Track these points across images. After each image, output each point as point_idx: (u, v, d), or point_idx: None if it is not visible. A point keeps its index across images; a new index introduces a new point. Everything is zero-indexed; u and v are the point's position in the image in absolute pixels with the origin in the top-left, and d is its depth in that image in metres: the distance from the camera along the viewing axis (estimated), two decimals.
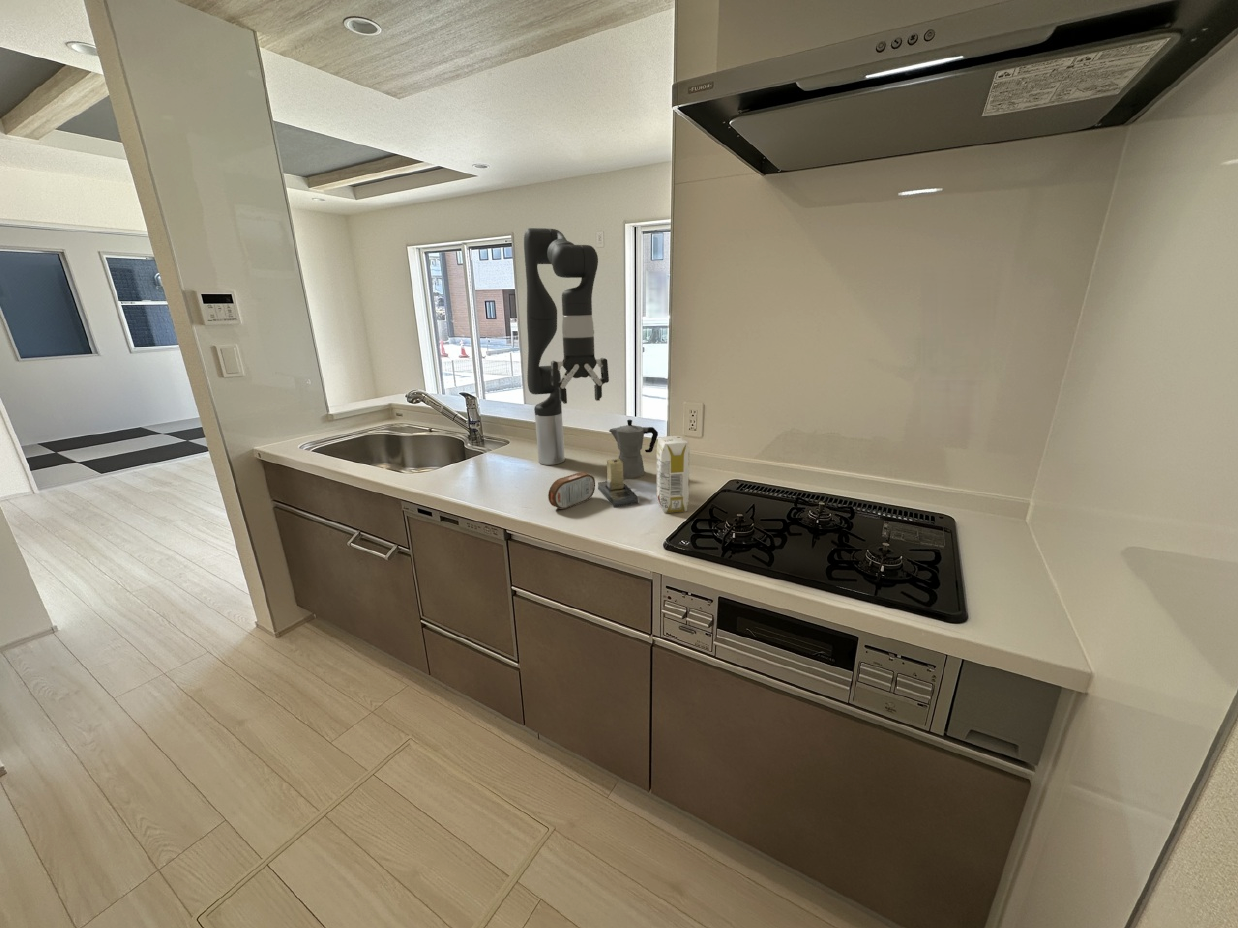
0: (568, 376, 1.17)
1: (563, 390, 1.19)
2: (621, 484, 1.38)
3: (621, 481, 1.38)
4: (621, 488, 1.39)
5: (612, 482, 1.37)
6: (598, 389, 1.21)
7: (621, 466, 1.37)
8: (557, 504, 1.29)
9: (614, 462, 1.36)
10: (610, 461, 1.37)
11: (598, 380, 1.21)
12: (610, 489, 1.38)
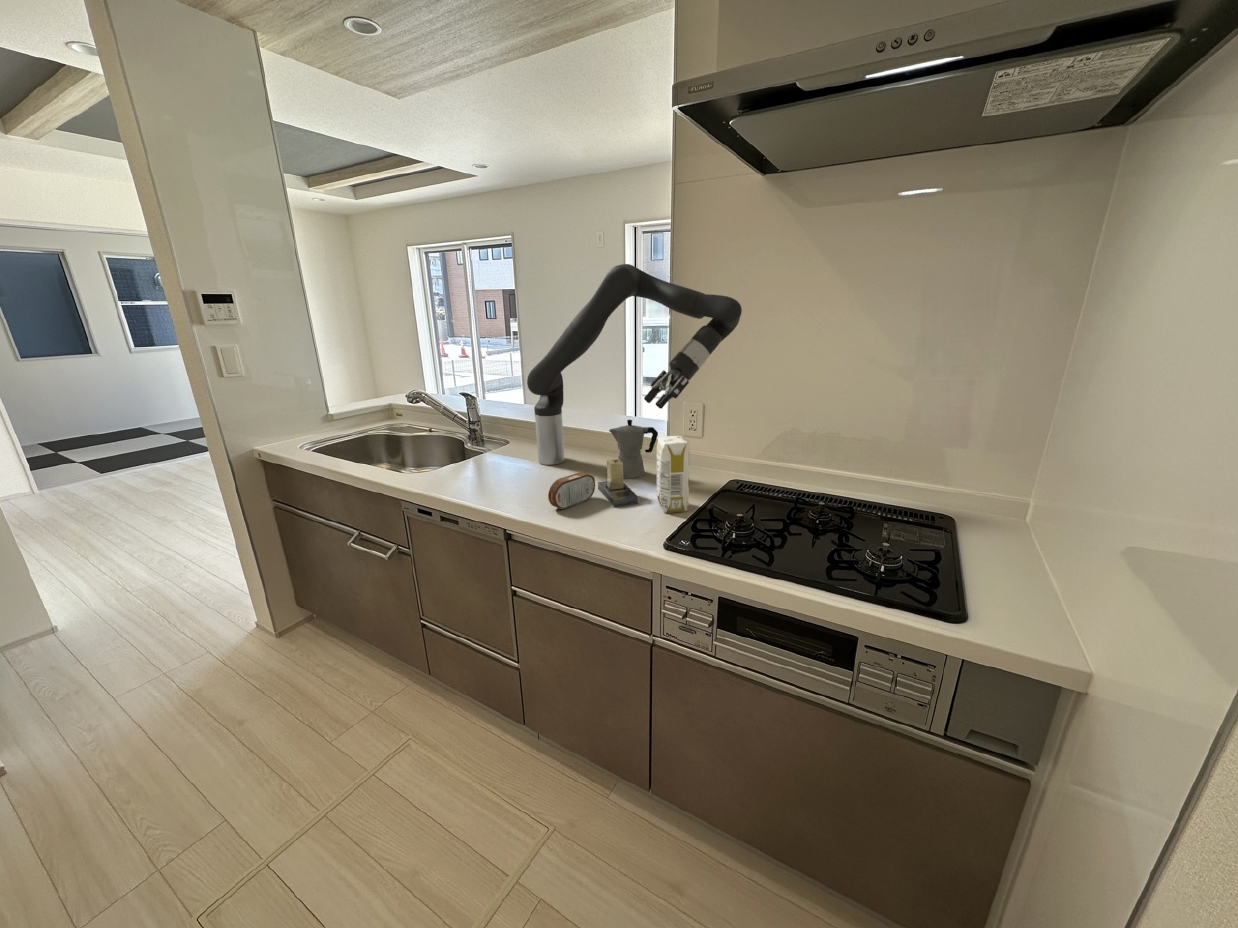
0: None
1: (668, 399, 1.32)
2: (621, 484, 1.38)
3: (621, 481, 1.38)
4: (621, 488, 1.39)
5: (612, 482, 1.37)
6: None
7: (621, 466, 1.37)
8: (557, 504, 1.29)
9: (614, 462, 1.36)
10: (610, 461, 1.37)
11: None
12: (610, 489, 1.38)
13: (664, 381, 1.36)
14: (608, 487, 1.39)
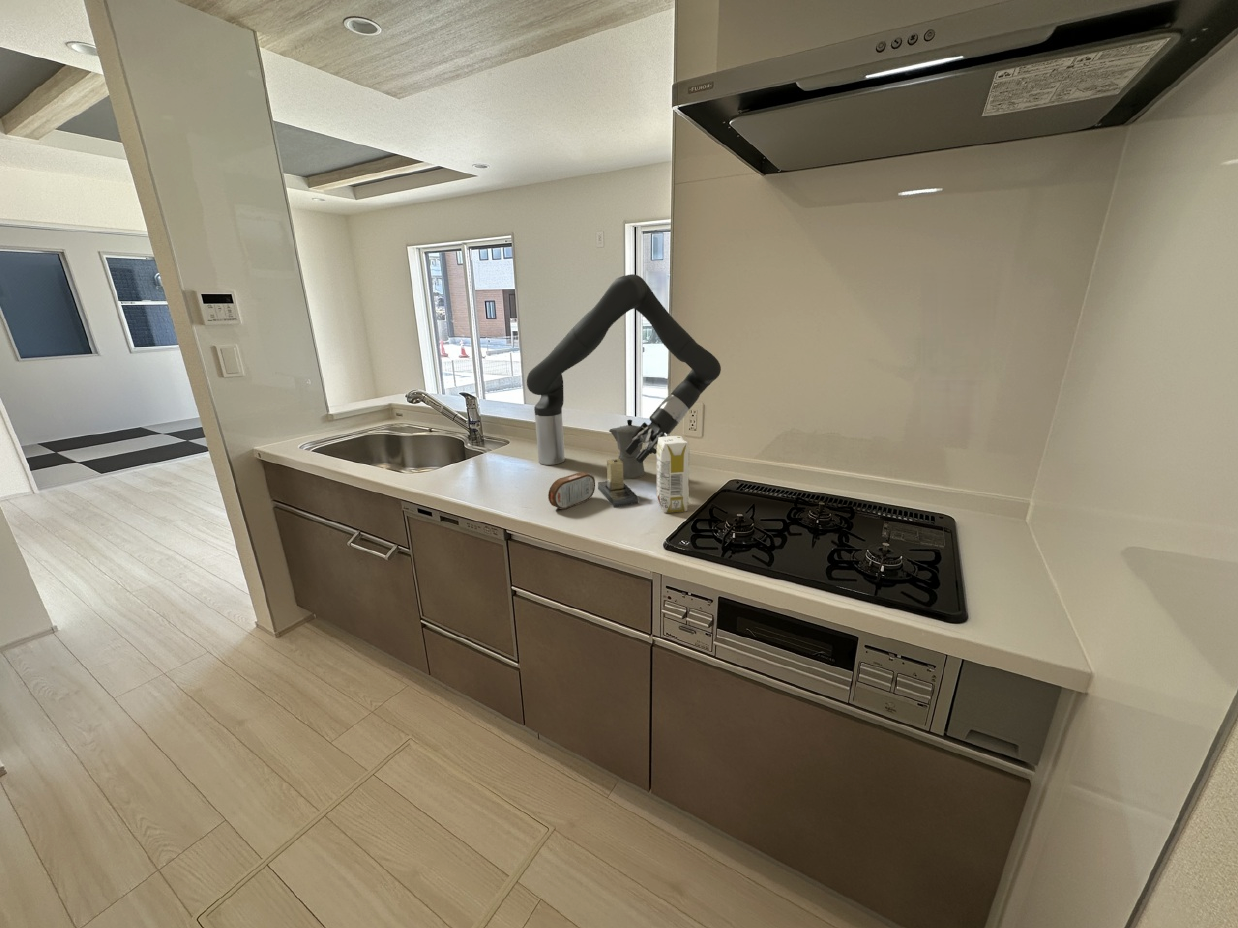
0: None
1: (648, 454, 1.35)
2: (621, 484, 1.38)
3: (621, 481, 1.38)
4: (621, 488, 1.39)
5: (612, 482, 1.37)
6: None
7: (621, 466, 1.37)
8: (557, 504, 1.29)
9: (614, 462, 1.36)
10: (610, 461, 1.37)
11: None
12: (610, 489, 1.38)
13: (644, 435, 1.39)
14: (608, 487, 1.39)
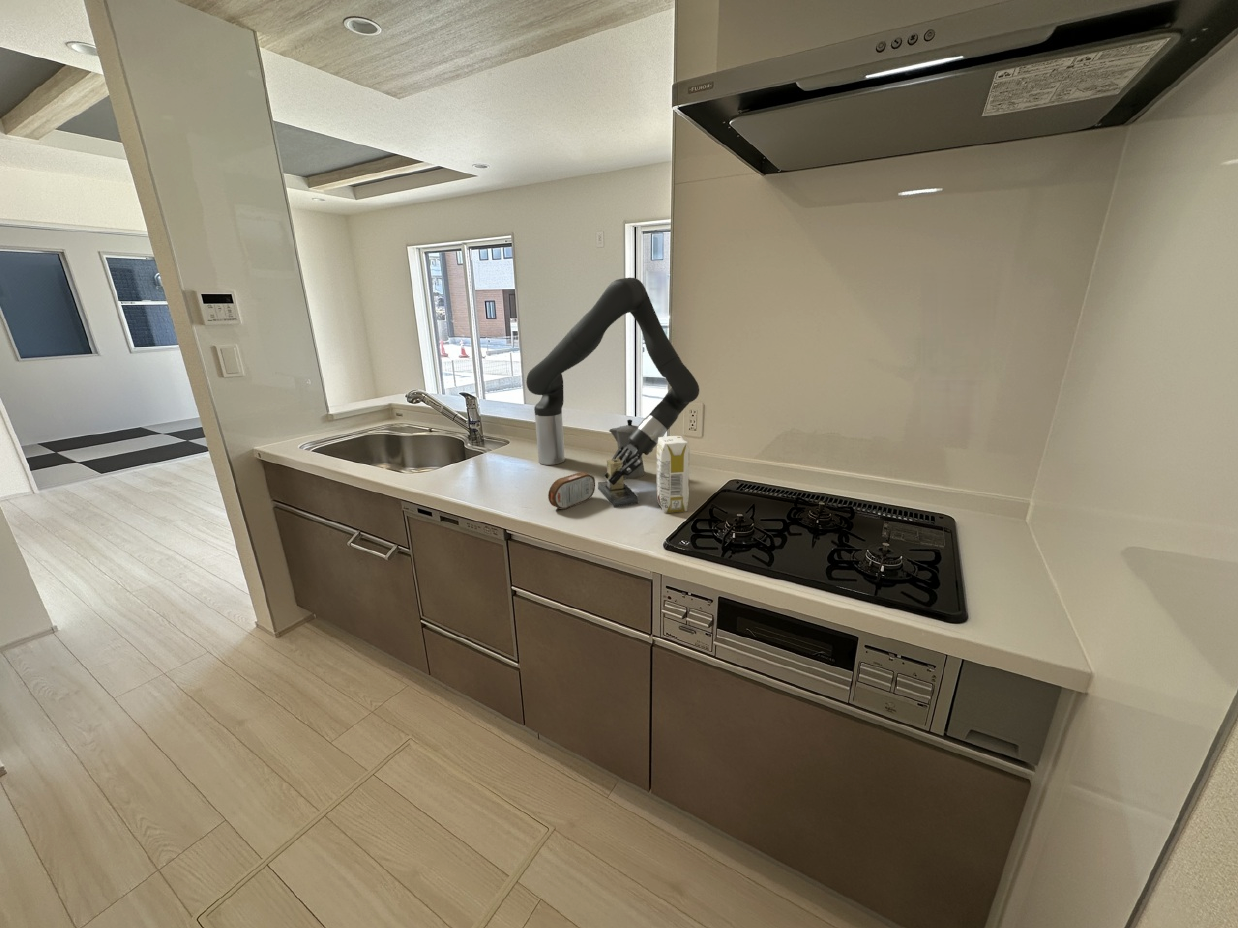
0: None
1: (621, 476, 1.37)
2: (621, 484, 1.38)
3: (621, 481, 1.38)
4: (621, 488, 1.39)
5: None
6: None
7: None
8: (557, 504, 1.29)
9: (614, 462, 1.36)
10: (610, 461, 1.37)
11: None
12: (610, 489, 1.38)
13: (624, 455, 1.38)
14: (608, 487, 1.39)
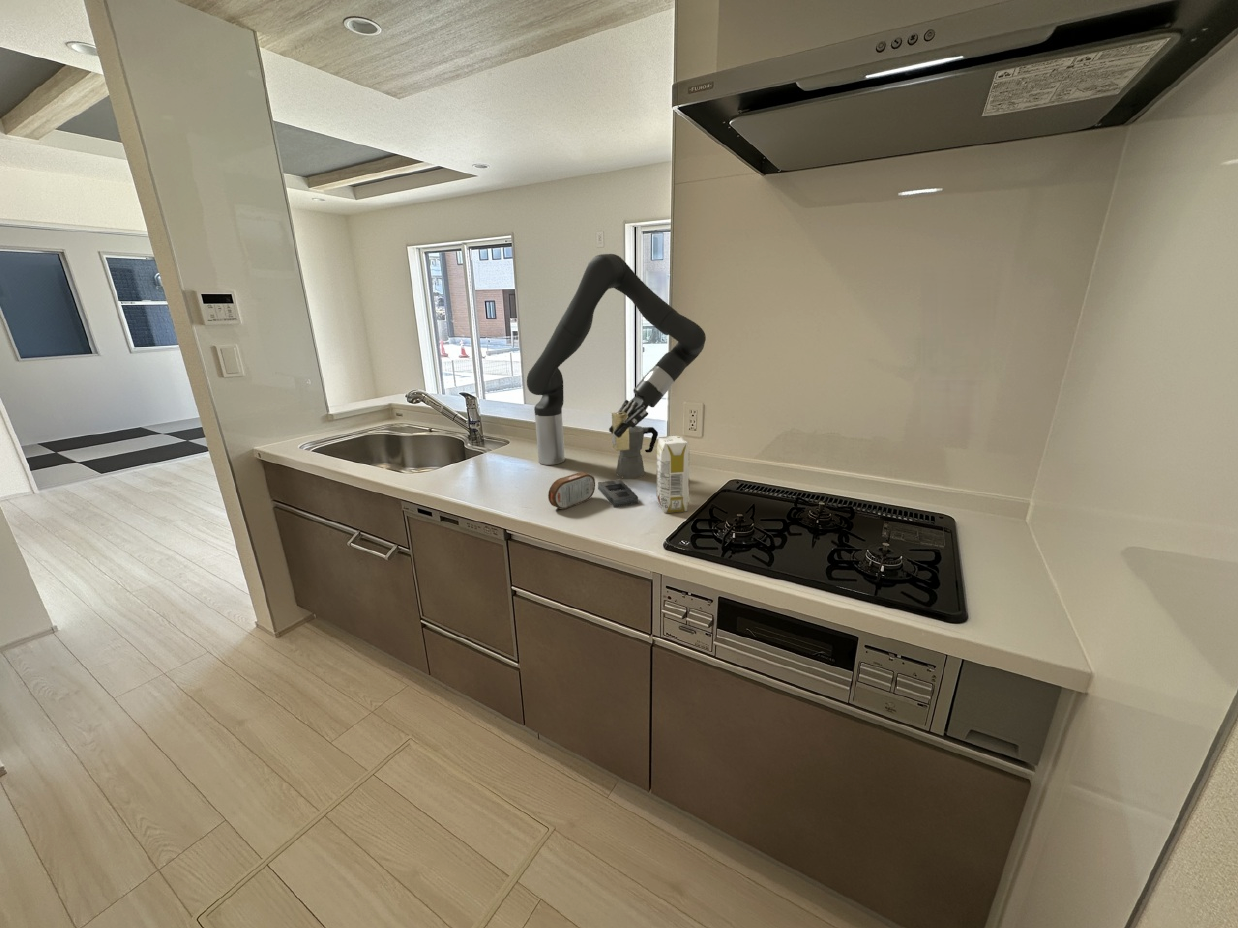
0: None
1: (626, 428, 1.33)
2: (627, 437, 1.34)
3: (626, 434, 1.34)
4: (627, 442, 1.35)
5: None
6: None
7: None
8: (557, 504, 1.29)
9: (619, 414, 1.33)
10: (615, 413, 1.34)
11: None
12: (615, 442, 1.34)
13: (630, 408, 1.34)
14: (613, 441, 1.35)
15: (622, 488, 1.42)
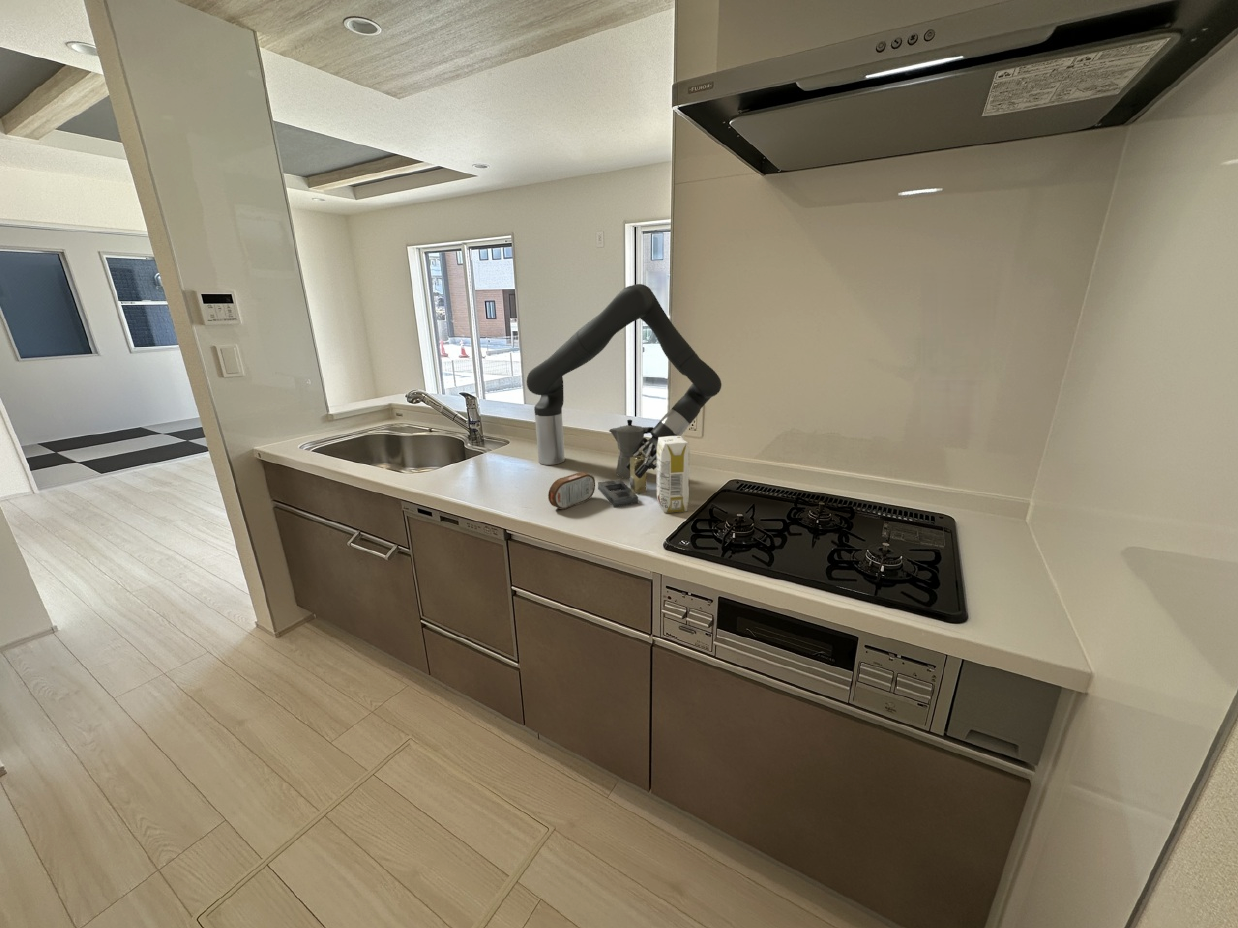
0: None
1: (647, 469, 1.37)
2: (644, 481, 1.41)
3: (644, 478, 1.40)
4: (644, 485, 1.41)
5: (636, 479, 1.39)
6: None
7: None
8: (557, 504, 1.29)
9: (637, 459, 1.39)
10: (633, 458, 1.40)
11: None
12: (633, 486, 1.40)
13: (646, 449, 1.41)
14: (631, 484, 1.42)
15: (622, 488, 1.42)
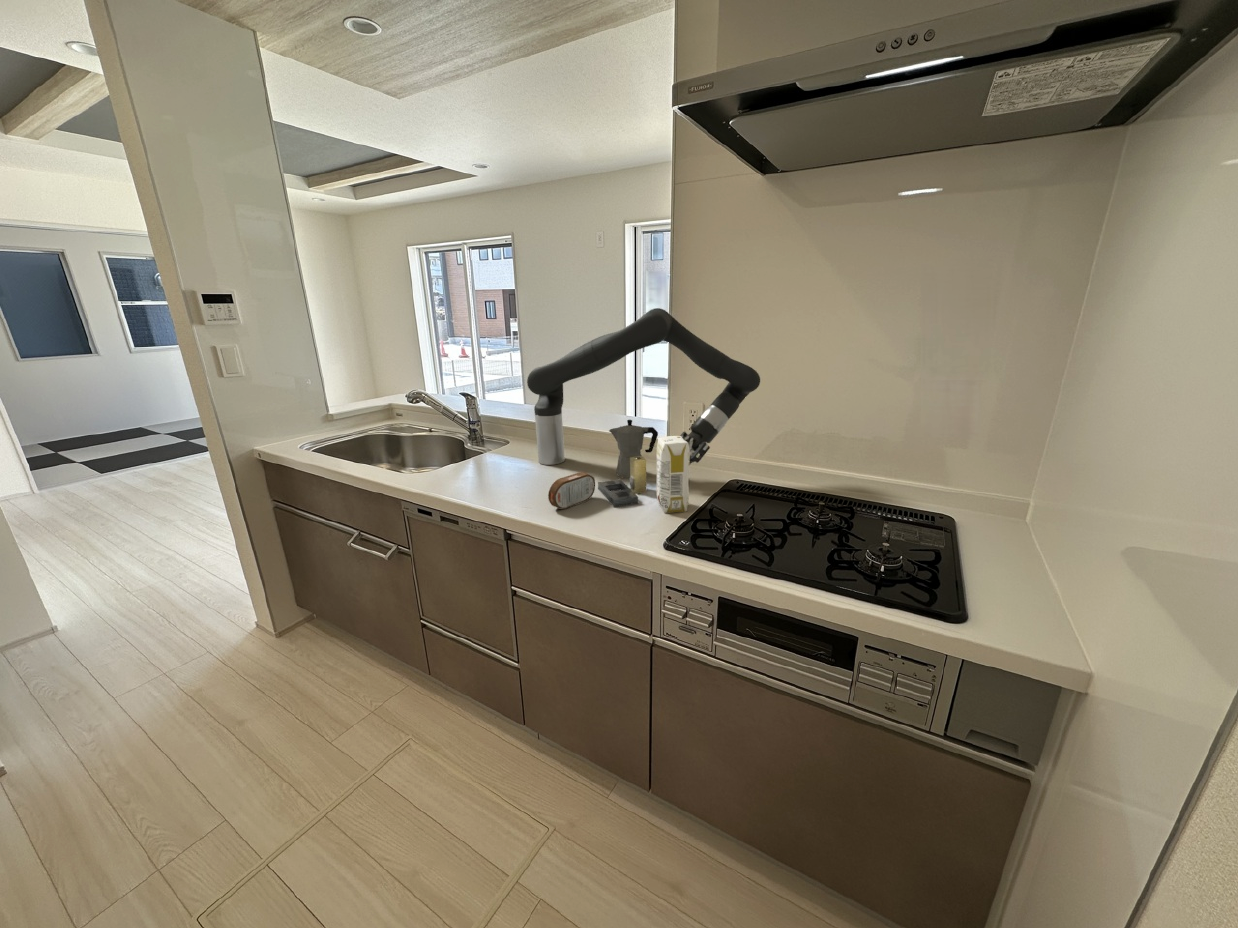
0: None
1: (690, 463, 1.40)
2: (644, 481, 1.41)
3: (644, 478, 1.40)
4: (644, 485, 1.41)
5: (636, 479, 1.39)
6: None
7: (644, 463, 1.39)
8: (557, 504, 1.29)
9: (637, 459, 1.39)
10: (633, 458, 1.40)
11: None
12: (633, 486, 1.40)
13: None
14: (631, 484, 1.42)
15: (622, 488, 1.42)
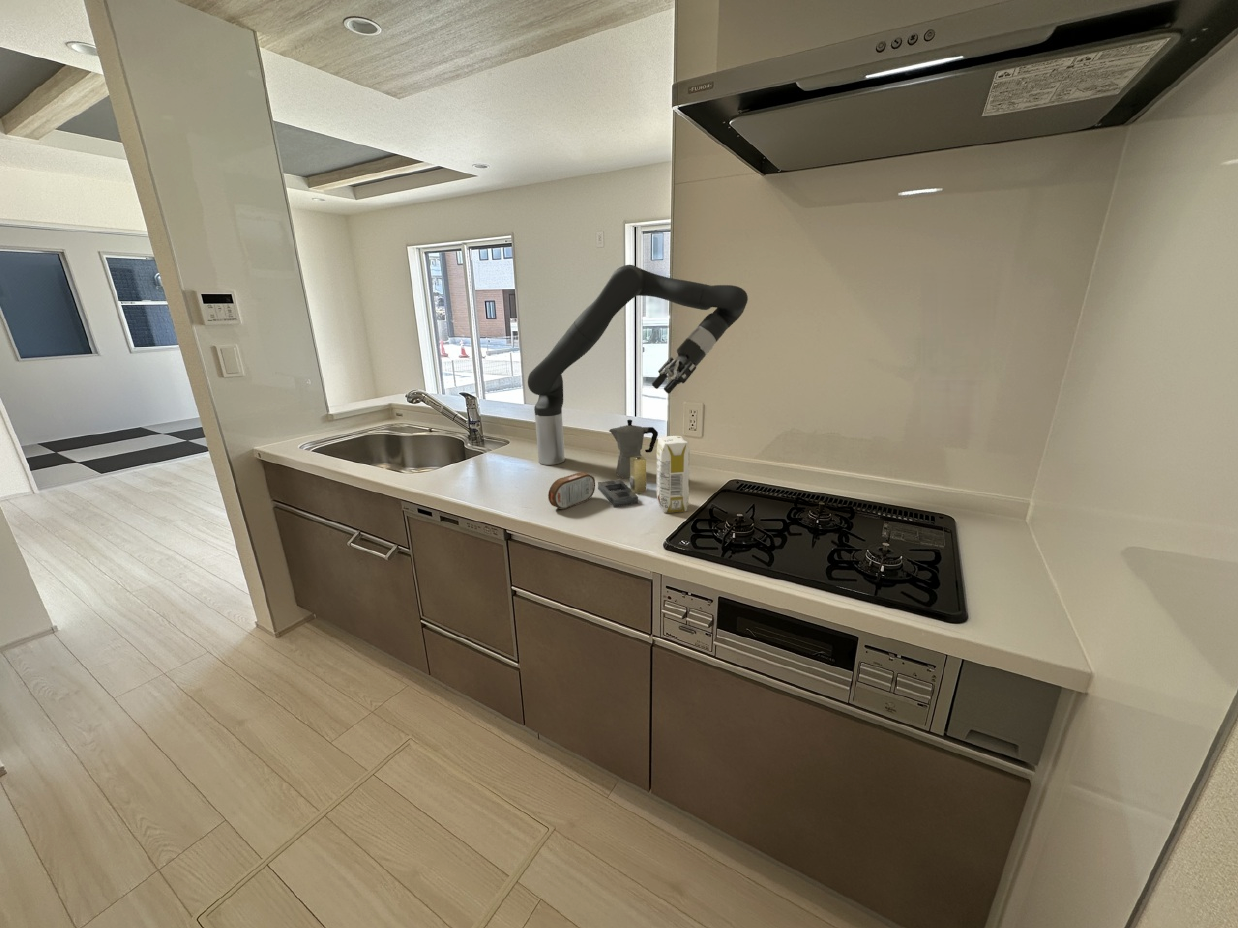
0: None
1: (676, 384, 1.36)
2: (644, 481, 1.41)
3: (644, 478, 1.40)
4: (644, 485, 1.41)
5: (636, 479, 1.39)
6: None
7: (644, 463, 1.39)
8: (557, 504, 1.29)
9: (637, 459, 1.39)
10: (633, 458, 1.40)
11: None
12: (633, 486, 1.40)
13: (672, 367, 1.40)
14: (631, 484, 1.42)
15: (622, 488, 1.42)
